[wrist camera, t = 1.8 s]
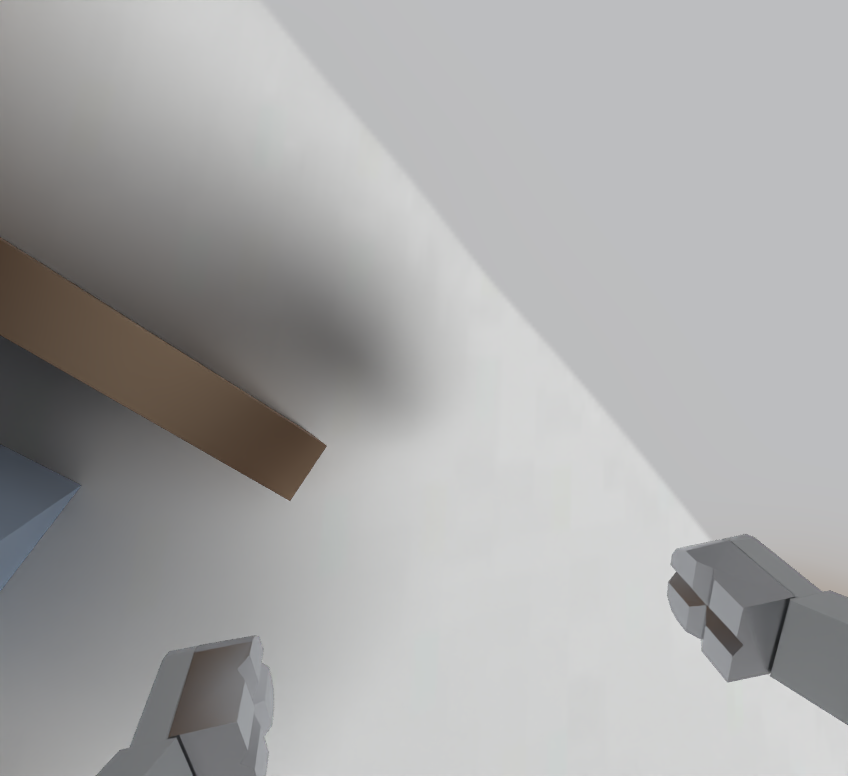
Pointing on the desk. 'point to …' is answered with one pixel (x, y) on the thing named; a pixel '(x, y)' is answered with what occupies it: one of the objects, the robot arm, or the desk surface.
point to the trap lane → (149, 375)
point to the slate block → (27, 507)
